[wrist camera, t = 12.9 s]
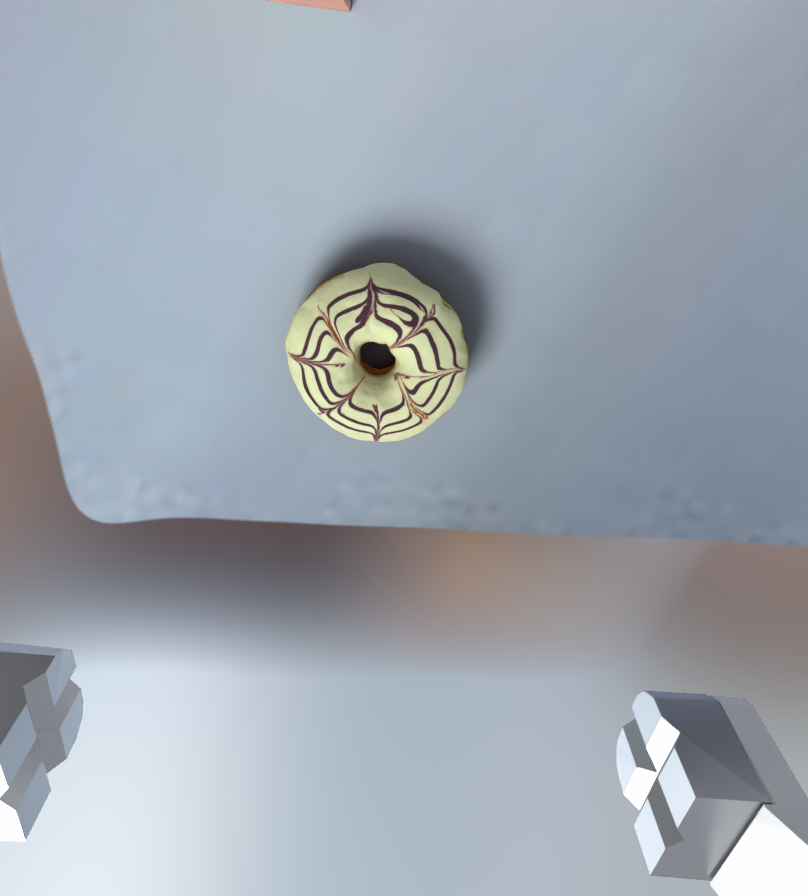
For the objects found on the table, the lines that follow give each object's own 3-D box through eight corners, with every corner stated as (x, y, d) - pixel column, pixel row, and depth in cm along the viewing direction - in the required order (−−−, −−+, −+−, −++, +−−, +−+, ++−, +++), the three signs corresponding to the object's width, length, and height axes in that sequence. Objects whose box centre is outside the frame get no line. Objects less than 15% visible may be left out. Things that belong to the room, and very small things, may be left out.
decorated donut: (379, 220, 36) (378, 232, 32) (497, 350, 40) (506, 373, 36) (259, 339, 39) (246, 362, 36) (378, 448, 43) (377, 477, 40)
